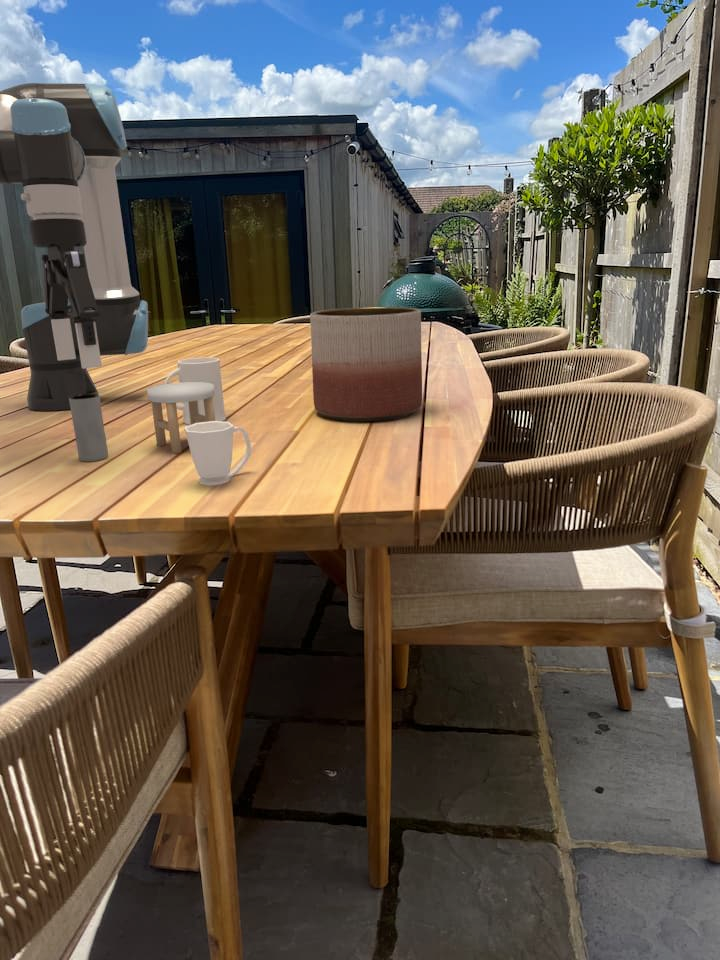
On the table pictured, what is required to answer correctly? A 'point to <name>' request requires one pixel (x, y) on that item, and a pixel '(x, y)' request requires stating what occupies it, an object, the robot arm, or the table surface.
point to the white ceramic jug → (201, 372)
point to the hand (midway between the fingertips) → (78, 363)
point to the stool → (172, 396)
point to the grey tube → (88, 427)
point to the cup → (214, 450)
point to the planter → (366, 362)
